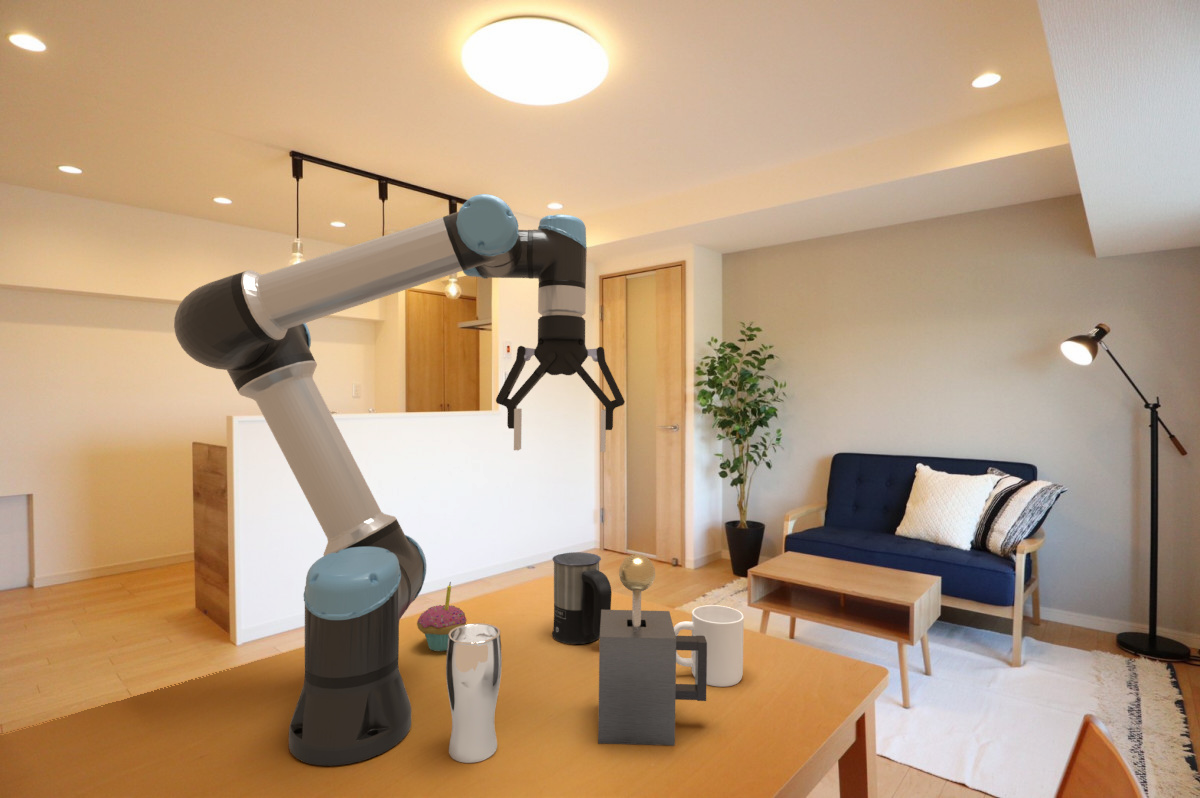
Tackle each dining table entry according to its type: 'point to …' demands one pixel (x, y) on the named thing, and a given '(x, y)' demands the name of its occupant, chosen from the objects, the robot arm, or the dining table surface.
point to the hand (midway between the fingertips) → (560, 450)
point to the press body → (643, 677)
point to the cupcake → (440, 623)
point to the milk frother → (579, 597)
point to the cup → (717, 643)
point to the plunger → (637, 581)
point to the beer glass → (473, 690)
